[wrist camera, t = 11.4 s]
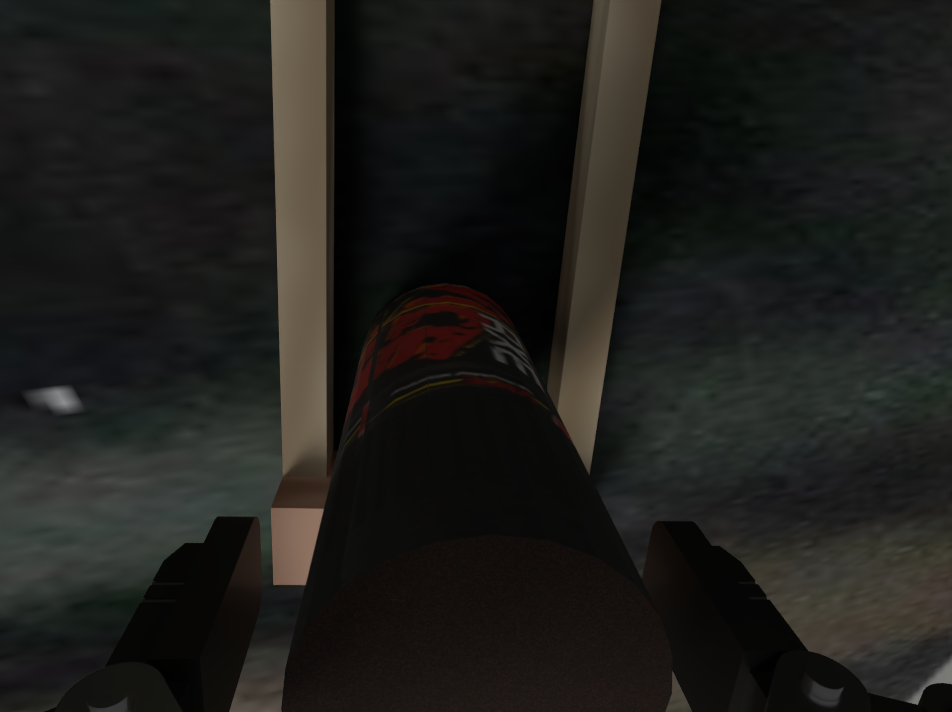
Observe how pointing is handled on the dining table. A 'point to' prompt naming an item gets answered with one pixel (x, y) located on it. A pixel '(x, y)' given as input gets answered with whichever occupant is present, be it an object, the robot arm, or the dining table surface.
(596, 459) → the dining table surface
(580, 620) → the deodorant
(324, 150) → the guide channel
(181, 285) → the dining table surface
